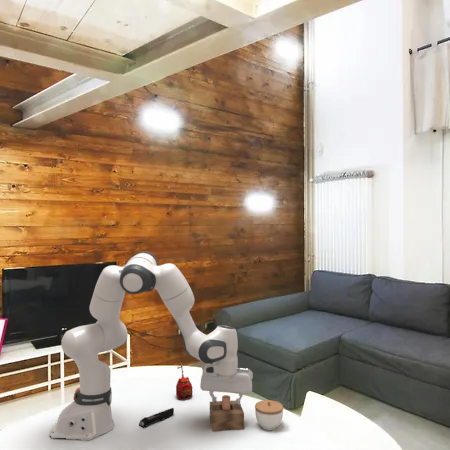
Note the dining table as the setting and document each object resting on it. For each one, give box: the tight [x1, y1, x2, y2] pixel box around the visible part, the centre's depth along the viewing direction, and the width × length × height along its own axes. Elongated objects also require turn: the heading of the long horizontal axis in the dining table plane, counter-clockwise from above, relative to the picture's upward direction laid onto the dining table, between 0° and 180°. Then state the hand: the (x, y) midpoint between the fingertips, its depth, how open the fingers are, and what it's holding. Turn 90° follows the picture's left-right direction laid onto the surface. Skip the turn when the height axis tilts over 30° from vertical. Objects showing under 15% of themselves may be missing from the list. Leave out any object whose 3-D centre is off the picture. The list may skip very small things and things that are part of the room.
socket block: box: [209, 399, 245, 432], centre depth 152 cm, size 12×12×6 cm
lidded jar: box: [254, 399, 284, 431], centre depth 149 cm, size 11×11×9 cm
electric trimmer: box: [138, 407, 175, 429], centre depth 154 cm, size 4×16×3 cm, turn 136°
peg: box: [221, 394, 231, 410], centre depth 152 cm, size 3×3×10 cm
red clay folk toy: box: [175, 362, 194, 401], centre depth 177 cm, size 8×7×15 cm
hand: (226, 403), depth 152 cm, fingers open, 8 cm apart
